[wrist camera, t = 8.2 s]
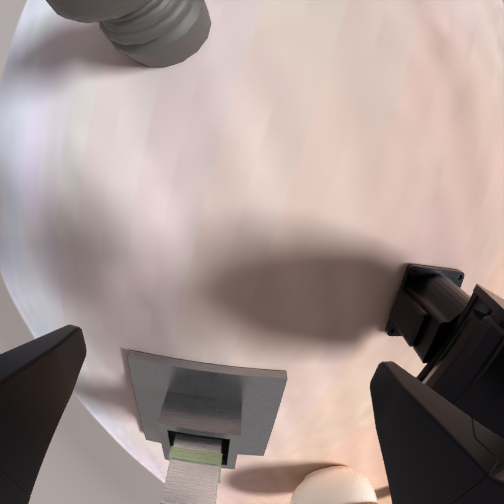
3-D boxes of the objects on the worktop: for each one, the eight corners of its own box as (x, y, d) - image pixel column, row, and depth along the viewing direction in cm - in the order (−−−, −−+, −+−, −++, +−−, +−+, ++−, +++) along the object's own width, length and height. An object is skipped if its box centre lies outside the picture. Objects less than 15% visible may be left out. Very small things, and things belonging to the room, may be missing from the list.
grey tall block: (223, 439, 21) (214, 545, 11) (221, 461, 23) (213, 552, 13) (174, 431, 21) (151, 535, 11) (177, 455, 23) (160, 544, 13)
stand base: (286, 371, 24) (291, 413, 19) (263, 449, 29) (263, 483, 24) (130, 350, 24) (111, 387, 19) (147, 433, 28) (138, 465, 24)
